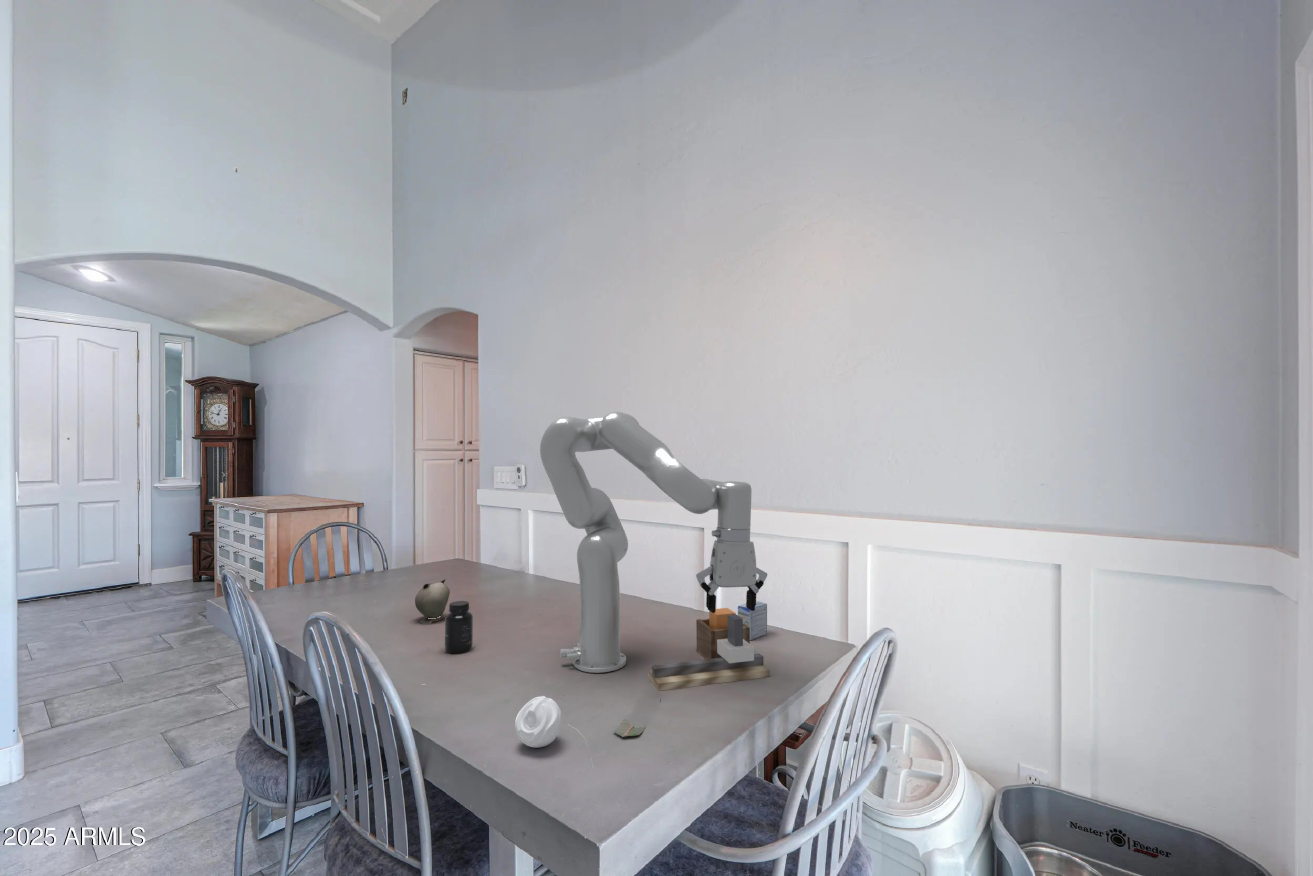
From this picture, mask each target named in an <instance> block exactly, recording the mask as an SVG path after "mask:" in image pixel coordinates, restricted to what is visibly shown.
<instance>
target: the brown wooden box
mask: <svg viewBox="0 0 1313 876" xmlns="http://www.w3.org/2000/svg"><path fill="white" fill-rule="evenodd" d="M695 624H696V627H695V628H696V653H698V654H699V655H700V656H701V657H702V658H703V660H706V659H715V658H723V657H722V656H720V655H719V654H718V653H717V640H719V639H728V628H727V629H717V630H713V629H712V628H711V627H709V617H708V618H699V619H696V622H695ZM743 639H744V640H745V641H747V642H748V643H749V644H751V640H750V628H749V627H748V626H747V625H745V624H744V623H743Z"/></svg>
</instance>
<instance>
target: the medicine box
mask: <svg viewBox="0 0 1313 876" xmlns="http://www.w3.org/2000/svg"><path fill="white" fill-rule="evenodd" d="M737 615H738V616H739V617H741V618H742V619H743V623H744V624H745V625H747V626H748V627H749V628H750V641H753V640H755V639H758V638H760V637H762V636H764V635H767V634H768V603H766V602H762V601H759V600H756V606H755V611H751V610H750V609H748V608H747V607H746V603H743V604H739V605H738V606H737Z"/></svg>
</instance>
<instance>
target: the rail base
mask: <svg viewBox="0 0 1313 876" xmlns="http://www.w3.org/2000/svg"><path fill="white" fill-rule="evenodd" d="M647 675H648V678H649V679H650V680H651V682H652V684H653V686H654V687H656V689H657V691H658V692H660V691H661V692H662V691H667V690H675V689H684V688H685V689H686V688H692V687H698V686H699V687H700V686H707V685H715V684H723V683H730V682H738V681H739V682H740V681H745V680H753V679H760V678H761V679H762V678H770V677H771V675H770V669H769V668H768V667H766V665H764V656H763V655H762V654H761V653H759V652H758V653H754V661H745V662H737V663H728V662H727V661H726V660H725V659H724V658H715V659H706V660H705V659H699V660H689V661H681V662H673V663H672V662H671V663H664V664H655V665H652V666H651V669H648V674H647Z"/></svg>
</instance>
